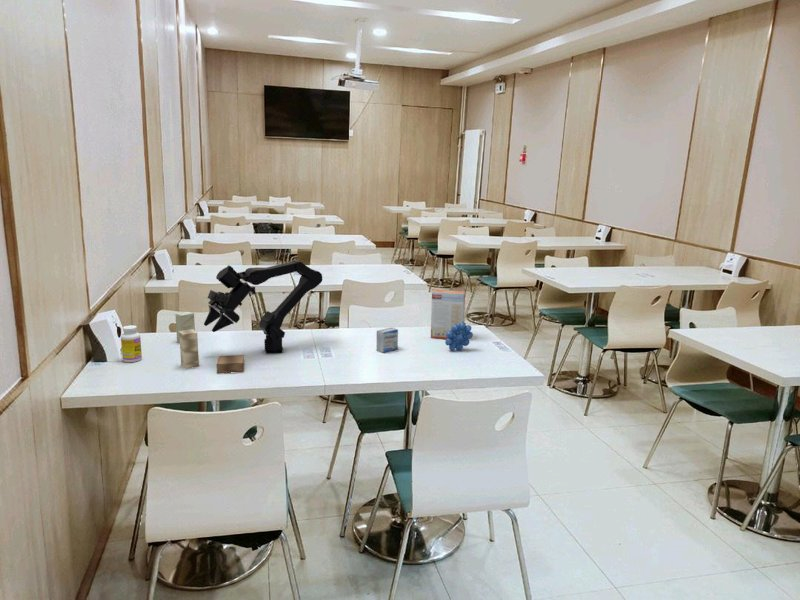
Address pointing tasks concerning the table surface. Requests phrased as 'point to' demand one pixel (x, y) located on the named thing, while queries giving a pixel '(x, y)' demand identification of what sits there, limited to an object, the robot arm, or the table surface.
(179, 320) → the skincare box
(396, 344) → the medicine box
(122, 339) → the supplement bottle
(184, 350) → the oak post
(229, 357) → the walnut block
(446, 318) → the cracker box
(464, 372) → the table surface
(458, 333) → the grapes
